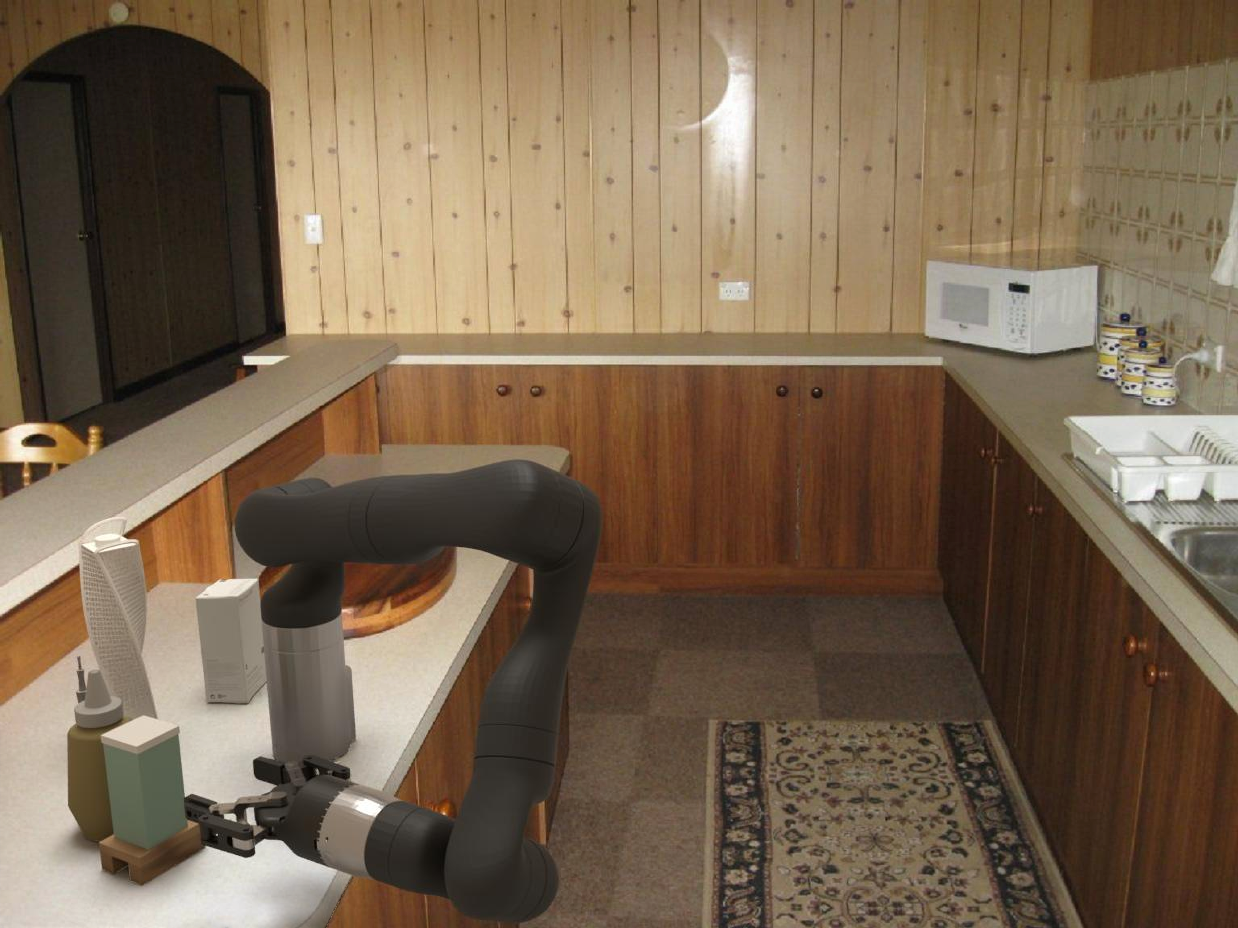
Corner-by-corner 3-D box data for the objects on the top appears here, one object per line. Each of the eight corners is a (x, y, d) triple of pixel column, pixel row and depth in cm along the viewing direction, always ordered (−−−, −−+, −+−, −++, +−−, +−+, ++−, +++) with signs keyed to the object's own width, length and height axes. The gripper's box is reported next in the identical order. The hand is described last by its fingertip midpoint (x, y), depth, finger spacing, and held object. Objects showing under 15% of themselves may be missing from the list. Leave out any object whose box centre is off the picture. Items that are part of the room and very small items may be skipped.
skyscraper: (111, 726, 158) (86, 514, 151) (173, 727, 157) (151, 514, 151) (79, 757, 150) (52, 534, 143) (145, 758, 149) (120, 535, 143)
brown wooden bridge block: (165, 832, 132) (163, 807, 131) (205, 847, 129) (203, 821, 128) (101, 869, 125) (98, 842, 124) (142, 885, 122) (139, 858, 121)
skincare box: (248, 704, 163) (238, 597, 159) (203, 703, 163) (193, 596, 160) (269, 678, 171) (261, 576, 168) (227, 678, 171) (217, 575, 168)
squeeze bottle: (72, 855, 128) (51, 693, 123) (71, 819, 135) (51, 664, 130) (155, 838, 131) (138, 679, 126) (150, 803, 138) (134, 651, 134)
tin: (154, 813, 130) (143, 715, 127) (189, 826, 127) (179, 725, 125) (112, 837, 125) (100, 735, 123) (148, 850, 123) (136, 746, 120)
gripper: (400, 756, 116) (273, 720, 124) (290, 825, 104) (158, 781, 112) (404, 828, 118) (279, 788, 126) (297, 905, 106) (166, 855, 114)
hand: (222, 785), depth 119 cm, fingers open, 8 cm apart
